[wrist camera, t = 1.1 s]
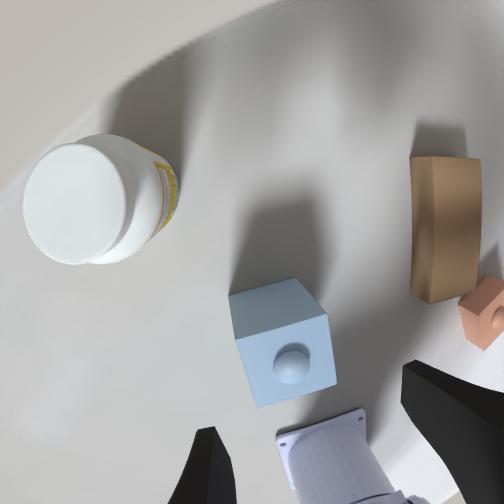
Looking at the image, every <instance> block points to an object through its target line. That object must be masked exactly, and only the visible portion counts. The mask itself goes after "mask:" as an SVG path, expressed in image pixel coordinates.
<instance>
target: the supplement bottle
mask: <svg viewBox="0 0 504 504" xmlns="http://www.w3.org/2000/svg"><path fill="white" fill-rule="evenodd" d="M178 199H179V185H178V180H177V177H176V174H175V172H174V170H173V168H172V167H171V166H170V164H169V163H168V162H167V161H166V160H165V159H164V158H163V157H161V156H160V155H158V154H157V153H155V152H153V151H151V150H149V149H147V148H145V147H143V146H141V145H139V144H137V143H135V142H133V141H131V140H129V139H127V138H124V137H121V136H117V135H112V134H97V135H92V136H88V137H85V138H82V139H80V140H78V141H76V142H75V143H70V144H64V145H60V146H58V147H56V148H54V149H53V150H51V151H49V152H48V153H47V154H45V155H44V156H43V157H42V158H41V159H40V160H39V161H38V162H37V164H36V165H35V167H34V168H33V170H32V171H31V173H30V175H29V178H28V180H27V183H26V186H25V190H24V195H23V214H24V220H25V224H26V227H27V230H28V232H29V234H30V236H31V238H32V240H33V241H34V243H35V244H36V245H37V247H38V248H39V249H40V250H41V251H42V252H43V253H45V254H46V255H47V256H49V257H50V258H52V259H54V260H56V261H58V262H61V263H65V264H72V265H75V264H85V263H88V262H89V263H95V264H109V263H114V262H118V261H121V260H123V259H125V258H127V257H129V256H131V255H133V254H134V253H136V252H137V251H138V250H140V249H141V248H142V247H143V246H144V245H145V244H146V243H147V242H148V241H149V240H150V239H151V238H153V237H154V236H155V235H156V234H157V233H158V232H159V231H160V230H161V229H162V228H163V227H164V226H165V225H166V224H167V223H168V222H169V221H170V219H171V218H172V216H173V214H174V212H175V210H176V207H177V204H178Z"/></svg>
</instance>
